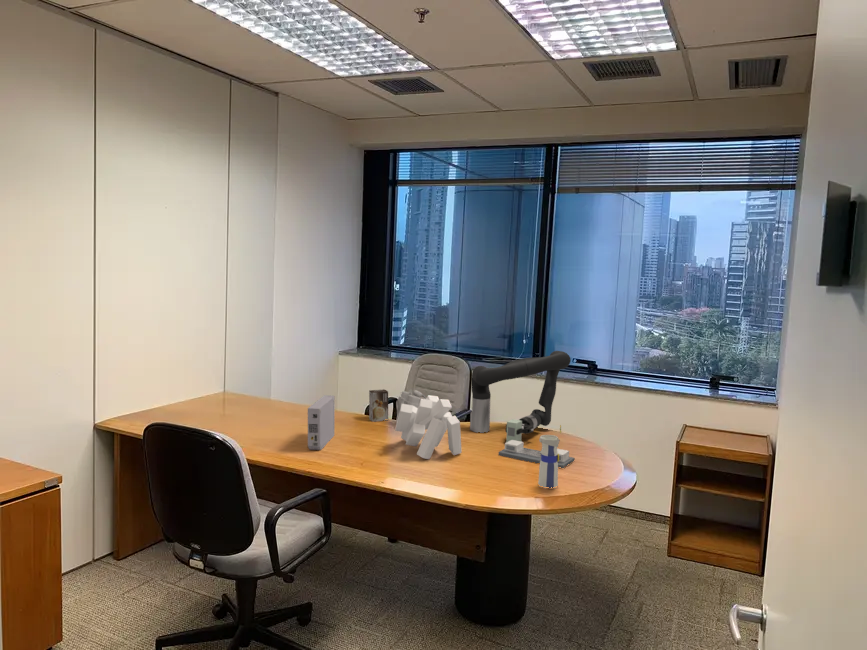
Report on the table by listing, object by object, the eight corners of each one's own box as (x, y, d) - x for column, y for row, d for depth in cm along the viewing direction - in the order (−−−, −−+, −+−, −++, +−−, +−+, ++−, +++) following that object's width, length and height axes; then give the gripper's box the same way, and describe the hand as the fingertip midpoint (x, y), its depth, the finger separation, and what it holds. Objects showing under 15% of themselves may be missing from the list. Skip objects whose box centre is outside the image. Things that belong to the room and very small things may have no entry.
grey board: (498, 455, 285) (498, 452, 285) (511, 448, 296) (511, 445, 296) (563, 469, 268) (563, 465, 268) (574, 461, 279) (574, 457, 279)
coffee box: (384, 417, 348) (385, 389, 346) (388, 420, 342) (388, 391, 340) (368, 419, 344) (369, 390, 342) (372, 421, 338) (372, 392, 337)
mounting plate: (503, 450, 287) (503, 449, 287) (510, 447, 293) (510, 445, 293) (563, 463, 271) (563, 461, 271) (569, 459, 277) (570, 457, 277)
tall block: (506, 444, 302) (506, 421, 301) (511, 441, 308) (512, 419, 306) (515, 446, 300) (516, 423, 298) (521, 443, 305) (522, 420, 304)
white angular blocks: (376, 460, 292) (378, 403, 272) (409, 423, 314) (413, 368, 294) (441, 492, 279) (448, 435, 259) (472, 451, 301) (480, 396, 281)
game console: (335, 435, 313) (335, 395, 311) (320, 451, 286) (320, 408, 284) (324, 434, 313) (324, 395, 311) (307, 451, 286) (307, 408, 284)
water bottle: (556, 481, 253) (558, 420, 251) (561, 489, 245) (563, 426, 242) (535, 481, 253) (537, 420, 250) (540, 489, 245) (542, 426, 242)
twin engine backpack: (434, 434, 328) (443, 397, 328) (402, 429, 320) (411, 391, 320) (420, 426, 344) (429, 390, 344) (389, 421, 336) (398, 384, 336)
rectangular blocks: (504, 449, 286) (504, 443, 286) (511, 446, 293) (511, 439, 292) (562, 461, 271) (562, 455, 271) (568, 457, 277) (569, 450, 277)
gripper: (514, 414, 318) (498, 421, 304) (540, 418, 310) (525, 426, 296) (513, 429, 319) (498, 436, 305) (540, 433, 311) (525, 441, 297)
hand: (511, 431), depth 301 cm, fingers closed on tall block, 5 cm apart
